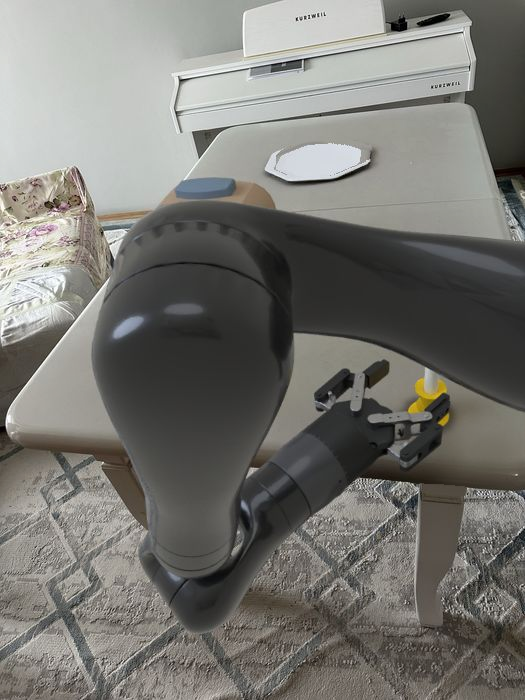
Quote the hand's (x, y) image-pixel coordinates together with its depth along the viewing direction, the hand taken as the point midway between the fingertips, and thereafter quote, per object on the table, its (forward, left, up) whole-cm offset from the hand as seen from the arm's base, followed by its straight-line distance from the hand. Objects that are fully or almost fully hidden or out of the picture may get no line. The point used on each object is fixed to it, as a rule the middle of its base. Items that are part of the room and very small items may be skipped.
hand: (415, 381), depth 61 cm
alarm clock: (+21, -40, -9) cm, 46 cm away
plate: (-8, -94, -9) cm, 95 cm away
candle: (-3, -2, -9) cm, 10 cm away
